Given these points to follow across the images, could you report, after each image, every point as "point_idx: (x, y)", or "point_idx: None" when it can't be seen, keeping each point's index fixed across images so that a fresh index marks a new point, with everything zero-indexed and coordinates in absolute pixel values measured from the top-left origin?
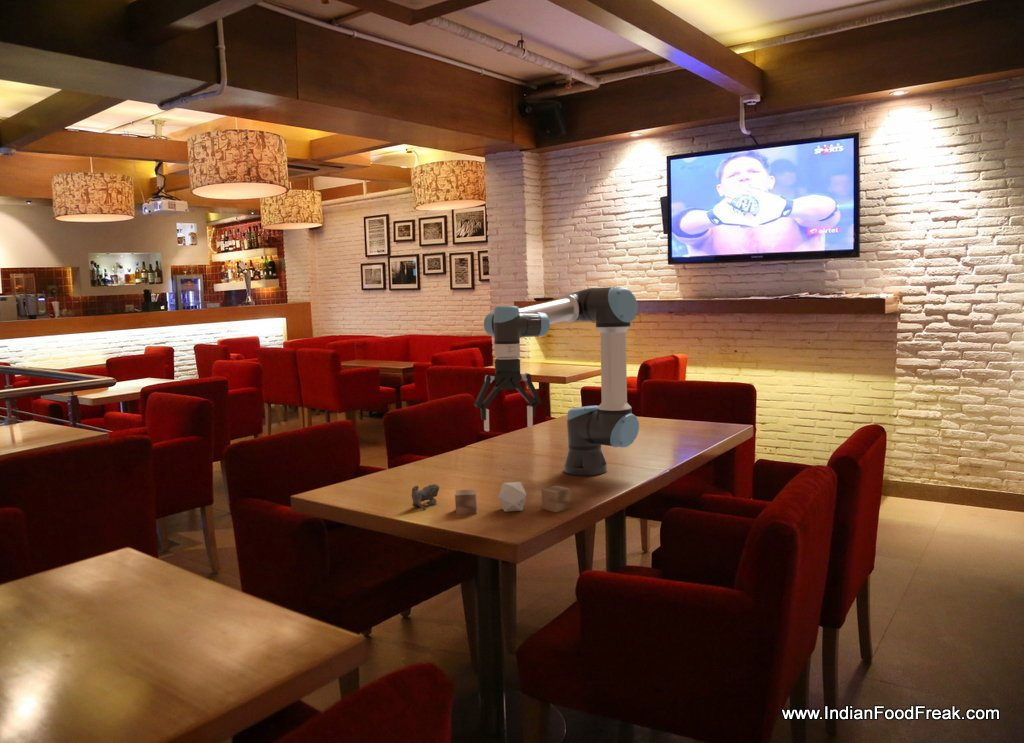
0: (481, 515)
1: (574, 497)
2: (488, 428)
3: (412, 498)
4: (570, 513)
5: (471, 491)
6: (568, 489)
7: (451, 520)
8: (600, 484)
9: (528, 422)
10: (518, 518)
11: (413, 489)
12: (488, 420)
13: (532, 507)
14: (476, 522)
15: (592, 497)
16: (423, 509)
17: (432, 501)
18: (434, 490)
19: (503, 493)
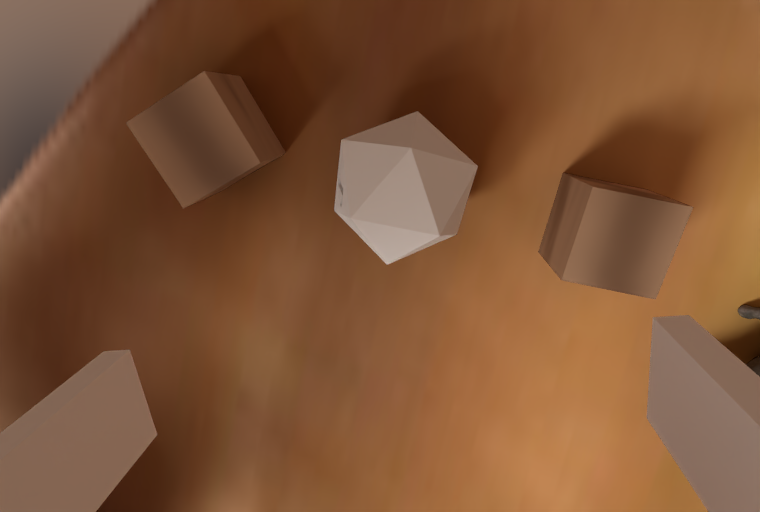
0: (548, 143)
1: (139, 260)
2: (681, 336)
3: None
4: (184, 37)
5: (594, 248)
6: (135, 117)
7: (691, 113)
8: (27, 388)
9: (111, 445)
10: (410, 40)
11: None
12: (750, 406)
13: (321, 183)
14: (598, 42)
15: (72, 235)
16: (750, 308)
17: None
18: None
19: (454, 157)
